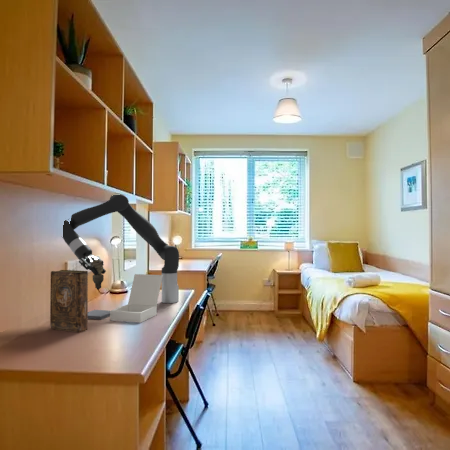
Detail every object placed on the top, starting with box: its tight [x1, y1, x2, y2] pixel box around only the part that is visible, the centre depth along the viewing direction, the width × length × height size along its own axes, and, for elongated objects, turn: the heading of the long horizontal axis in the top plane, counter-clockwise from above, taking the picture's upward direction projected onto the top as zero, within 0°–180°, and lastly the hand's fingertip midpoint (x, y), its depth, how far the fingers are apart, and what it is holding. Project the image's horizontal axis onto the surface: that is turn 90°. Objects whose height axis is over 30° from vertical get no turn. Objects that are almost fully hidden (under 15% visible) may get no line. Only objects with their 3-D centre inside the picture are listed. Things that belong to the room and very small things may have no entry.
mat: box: [88, 309, 111, 321], centre depth 179 cm, size 12×12×2 cm
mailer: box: [109, 273, 163, 324], centre depth 179 cm, size 23×16×19 cm
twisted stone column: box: [92, 259, 105, 291], centre depth 179 cm, size 6×6×15 cm
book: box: [49, 269, 89, 333], centre depth 156 cm, size 16×6×25 cm, turn 70°
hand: (100, 273), depth 179 cm, fingers closed on twisted stone column, 5 cm apart
